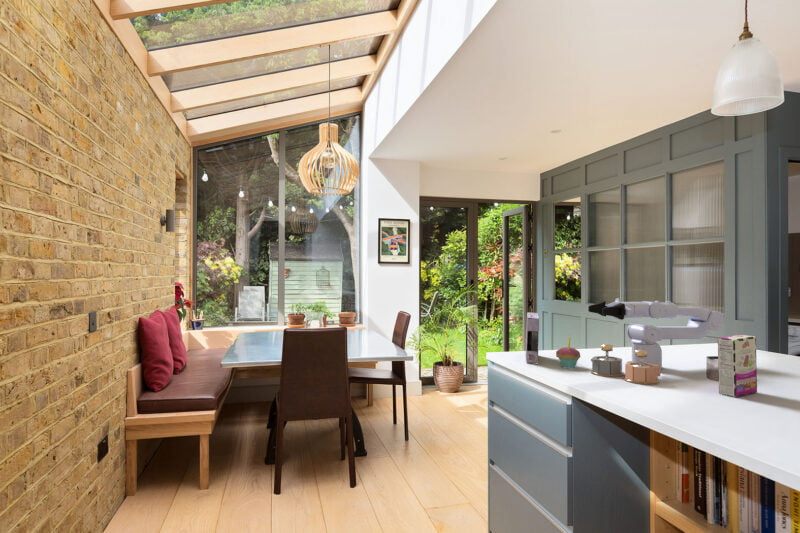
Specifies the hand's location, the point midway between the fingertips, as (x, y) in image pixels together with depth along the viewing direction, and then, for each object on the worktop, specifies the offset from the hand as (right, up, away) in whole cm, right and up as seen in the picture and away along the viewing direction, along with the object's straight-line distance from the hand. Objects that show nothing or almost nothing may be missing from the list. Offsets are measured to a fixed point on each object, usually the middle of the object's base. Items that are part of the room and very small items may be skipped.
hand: (595, 309), depth 175 cm
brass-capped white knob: (+9, -17, -15) cm, 24 cm away
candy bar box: (+29, -22, -31) cm, 47 cm away
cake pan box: (-16, -22, +22) cm, 35 cm away
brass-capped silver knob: (+2, -17, -4) cm, 18 cm away
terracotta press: (+9, -21, -15) cm, 27 cm away
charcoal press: (+2, -21, -4) cm, 22 cm away
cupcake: (-7, -22, +7) cm, 24 cm away
